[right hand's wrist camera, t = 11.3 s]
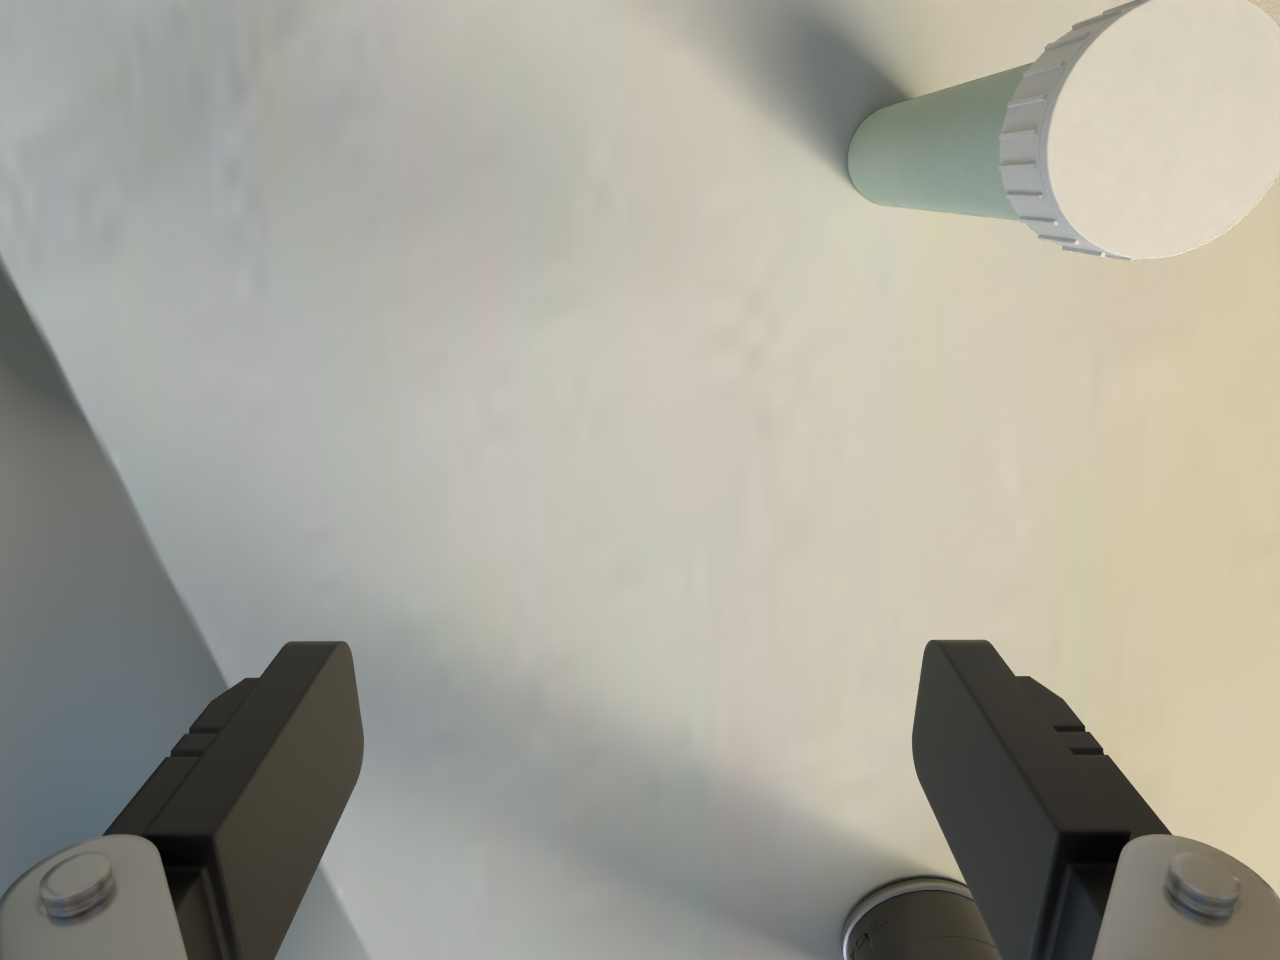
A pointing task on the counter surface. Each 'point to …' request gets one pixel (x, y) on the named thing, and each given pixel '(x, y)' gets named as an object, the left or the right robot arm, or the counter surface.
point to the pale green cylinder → (938, 150)
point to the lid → (1146, 128)
